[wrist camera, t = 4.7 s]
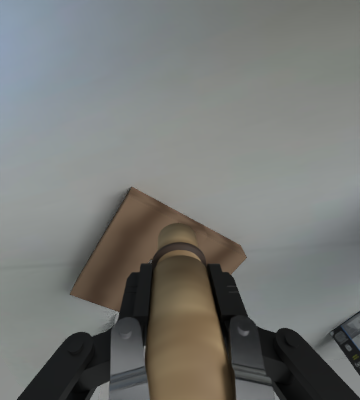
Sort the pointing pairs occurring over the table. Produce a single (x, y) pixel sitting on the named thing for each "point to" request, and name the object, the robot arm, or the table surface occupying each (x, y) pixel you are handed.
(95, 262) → the board
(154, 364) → the peg
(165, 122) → the table surface
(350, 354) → the label tape cartridge
